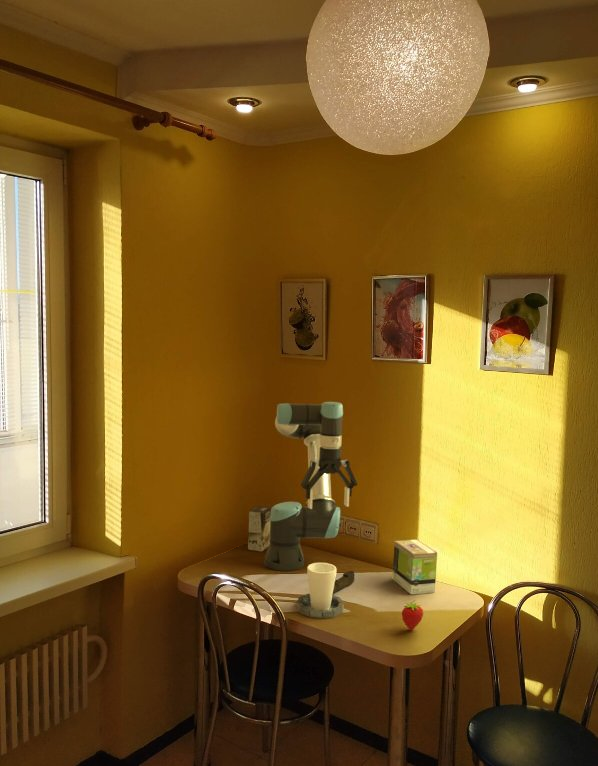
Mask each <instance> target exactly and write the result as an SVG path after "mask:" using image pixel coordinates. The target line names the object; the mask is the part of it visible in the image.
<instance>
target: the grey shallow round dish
mask: <svg viewBox="0 0 598 766" xmlns="http://www.w3.org/2000/svg"><path fill="white" fill-rule="evenodd" d="M296 609H297V611H298V612H299V614H302V615H304V616H305V617H306V616H307V617H309V618H314V619H322V620H323V619H331V618H335V617H337V616H339V615H341V614H343V612H344V610H345V602H344V600H342V598H340V597H338V596H336V595H333V594H332V600H331V605H330V608H329V609H327V610H316V609H313V608H312V607H311V601H310V593H306V594H304V595H300V596H299V597H298V599H297V600H296Z"/></svg>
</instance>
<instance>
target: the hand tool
mask: <svg viewBox="0 0 598 766" xmlns="http://www.w3.org/2000/svg"><path fill="white" fill-rule="evenodd" d="M354 581H355V572H354V570H348V571H346V572H343V574H342V576H340V578H338V579H335V583H334V588H333V594H334V593H336V592H338V591H340V590H341V589H343V588H345V587H350V586H351V585H353V583H354Z"/></svg>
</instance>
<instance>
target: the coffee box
mask: <svg viewBox="0 0 598 766" xmlns="http://www.w3.org/2000/svg"><path fill="white" fill-rule="evenodd" d="M271 509H272V506H271V507H270V506H263V505H257V506H255V507H254V508H251V509H250V510H249V512H248V536H247V537H248V543H247V544H248V545H247V550H250V551H257V552H263V551H264V550H266V549H268V547H269V544H270V515H271Z"/></svg>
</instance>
